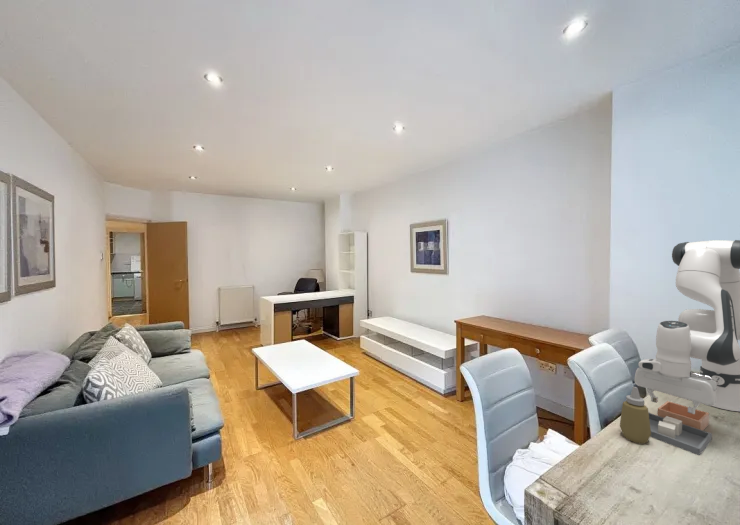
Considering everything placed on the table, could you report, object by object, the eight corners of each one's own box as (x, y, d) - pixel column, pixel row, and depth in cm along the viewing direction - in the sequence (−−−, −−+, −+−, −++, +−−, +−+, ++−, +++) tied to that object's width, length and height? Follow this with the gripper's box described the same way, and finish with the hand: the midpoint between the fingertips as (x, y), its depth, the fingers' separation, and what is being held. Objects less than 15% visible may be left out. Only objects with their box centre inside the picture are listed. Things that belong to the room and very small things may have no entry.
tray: (645, 418, 116) (645, 411, 116) (712, 441, 102) (712, 433, 101) (629, 430, 108) (629, 423, 108) (699, 457, 94) (699, 448, 94)
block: (659, 431, 106) (659, 420, 106) (675, 436, 103) (675, 425, 103) (658, 436, 103) (658, 424, 103) (674, 441, 100) (674, 429, 100)
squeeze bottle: (657, 448, 98) (657, 393, 98) (628, 445, 100) (629, 391, 99) (640, 434, 106) (640, 383, 106) (614, 431, 107) (614, 381, 107)
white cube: (666, 426, 109) (666, 415, 109) (682, 432, 106) (682, 421, 106) (662, 430, 107) (662, 419, 107) (678, 435, 104) (678, 424, 104)
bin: (667, 412, 120) (667, 400, 120) (708, 425, 111) (709, 413, 111) (657, 420, 115) (657, 408, 114) (700, 435, 105) (700, 422, 105)
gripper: (719, 376, 99) (718, 418, 99) (639, 358, 116) (638, 394, 116) (714, 379, 95) (714, 423, 96) (633, 361, 113) (632, 398, 113)
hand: (672, 407), depth 106 cm, fingers open, 8 cm apart
